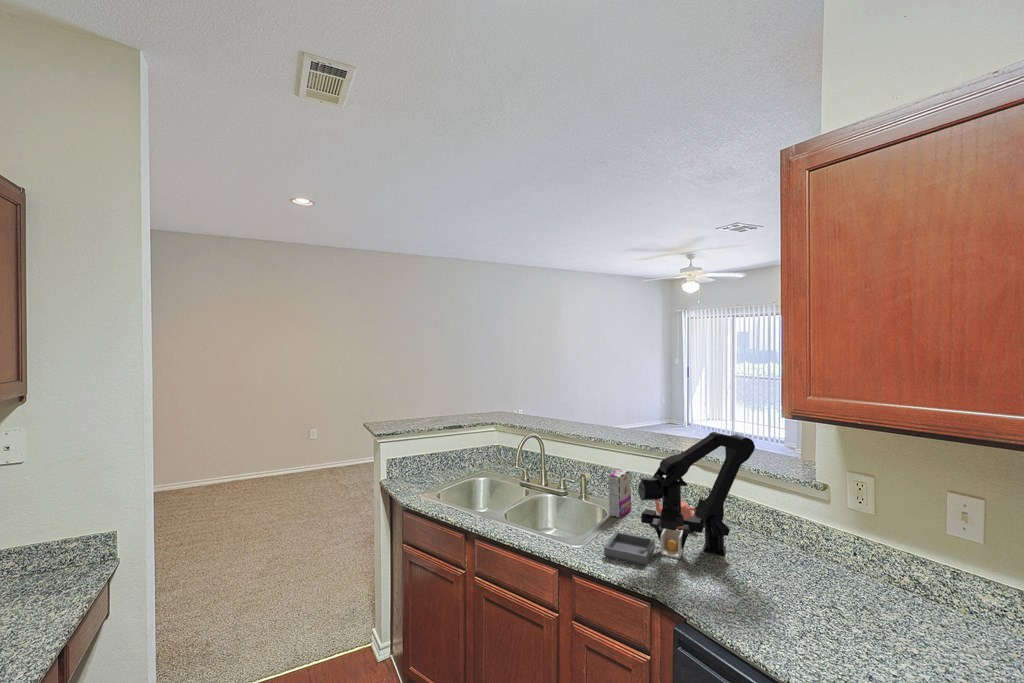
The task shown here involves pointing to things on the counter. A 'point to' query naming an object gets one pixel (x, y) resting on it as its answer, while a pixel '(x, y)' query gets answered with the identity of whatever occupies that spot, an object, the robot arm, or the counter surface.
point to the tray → (630, 548)
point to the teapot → (684, 511)
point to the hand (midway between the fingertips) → (672, 546)
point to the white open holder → (671, 535)
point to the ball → (672, 545)
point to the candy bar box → (619, 493)
